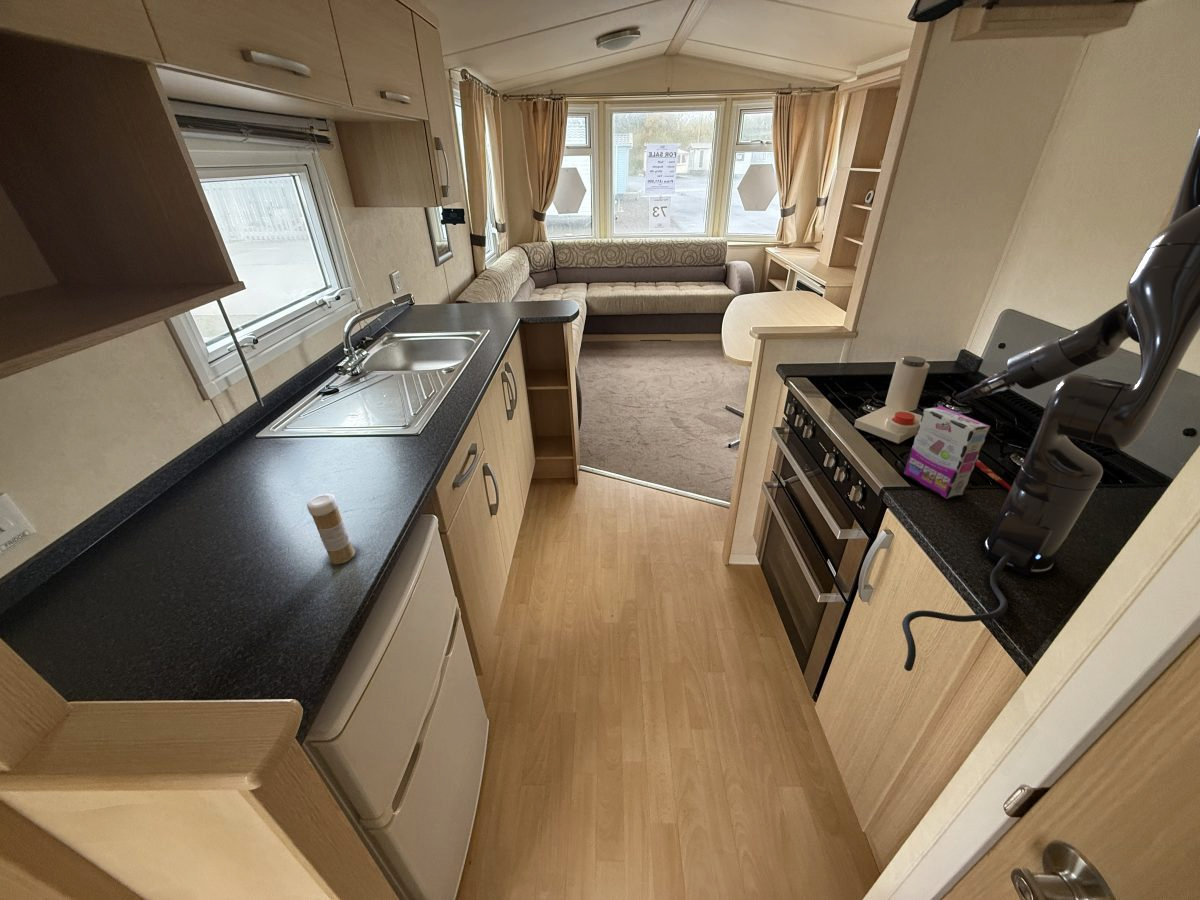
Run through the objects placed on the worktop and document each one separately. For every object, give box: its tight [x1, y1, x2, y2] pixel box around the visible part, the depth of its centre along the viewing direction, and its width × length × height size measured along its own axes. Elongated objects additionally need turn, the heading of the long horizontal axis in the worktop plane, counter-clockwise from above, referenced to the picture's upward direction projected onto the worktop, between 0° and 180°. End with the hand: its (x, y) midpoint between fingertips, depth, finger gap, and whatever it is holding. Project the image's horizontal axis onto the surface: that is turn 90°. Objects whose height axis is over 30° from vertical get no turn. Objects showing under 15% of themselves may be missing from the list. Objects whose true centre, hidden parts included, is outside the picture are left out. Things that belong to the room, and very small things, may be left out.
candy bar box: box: [903, 405, 991, 499], centre depth 101 cm, size 11×5×16 cm, turn 17°
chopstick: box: [974, 458, 1012, 492], centre depth 108 cm, size 2×24×1 cm, turn 179°
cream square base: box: [853, 405, 923, 444], centre depth 128 cm, size 16×13×4 cm
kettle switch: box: [893, 412, 915, 425], centre depth 123 cm, size 4×4×2 cm
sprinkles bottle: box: [306, 493, 356, 565], centre depth 89 cm, size 5×5×14 cm
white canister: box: [884, 355, 931, 412], centre depth 128 cm, size 8×8×13 cm
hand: (958, 399), depth 112 cm, fingers closed
